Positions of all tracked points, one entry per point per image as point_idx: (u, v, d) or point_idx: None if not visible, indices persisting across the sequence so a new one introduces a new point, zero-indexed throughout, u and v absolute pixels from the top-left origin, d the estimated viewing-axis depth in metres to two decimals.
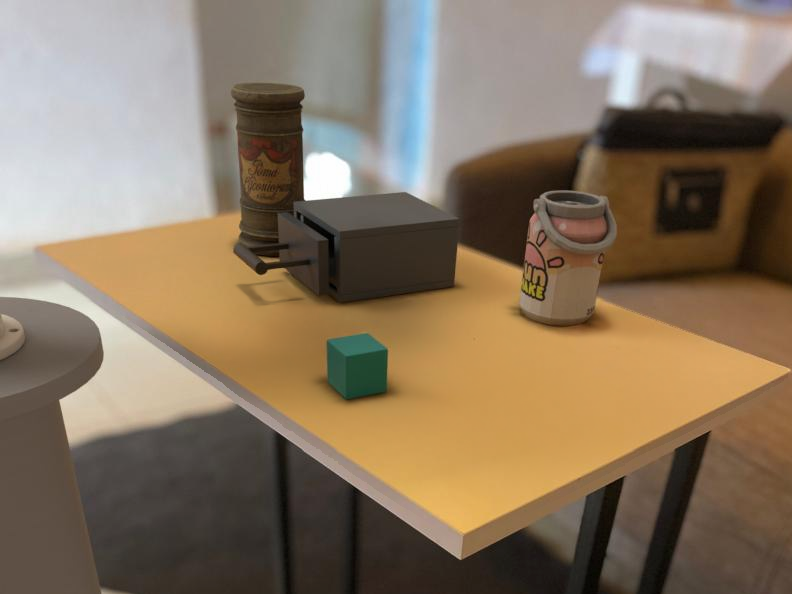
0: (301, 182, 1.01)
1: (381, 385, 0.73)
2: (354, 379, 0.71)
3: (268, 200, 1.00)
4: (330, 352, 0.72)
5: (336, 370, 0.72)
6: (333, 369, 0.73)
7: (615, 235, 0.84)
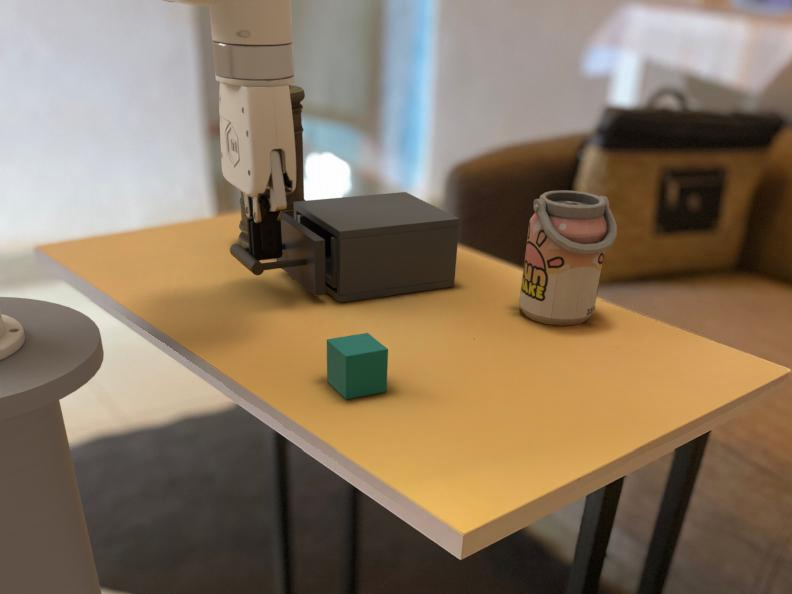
0: (301, 182, 1.01)
1: (381, 385, 0.73)
2: (354, 379, 0.71)
3: None
4: (330, 352, 0.72)
5: (336, 370, 0.72)
6: (333, 369, 0.73)
7: (615, 235, 0.84)
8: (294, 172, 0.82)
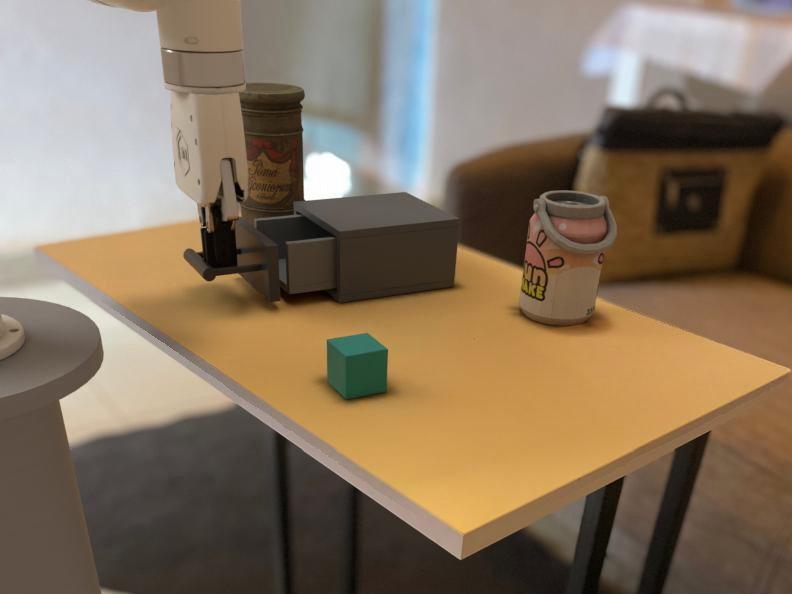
0: (301, 182, 1.01)
1: (381, 385, 0.73)
2: (354, 379, 0.71)
3: (268, 200, 1.00)
4: (330, 352, 0.72)
5: (336, 370, 0.72)
6: (333, 369, 0.73)
7: (615, 235, 0.84)
8: (246, 181, 0.81)
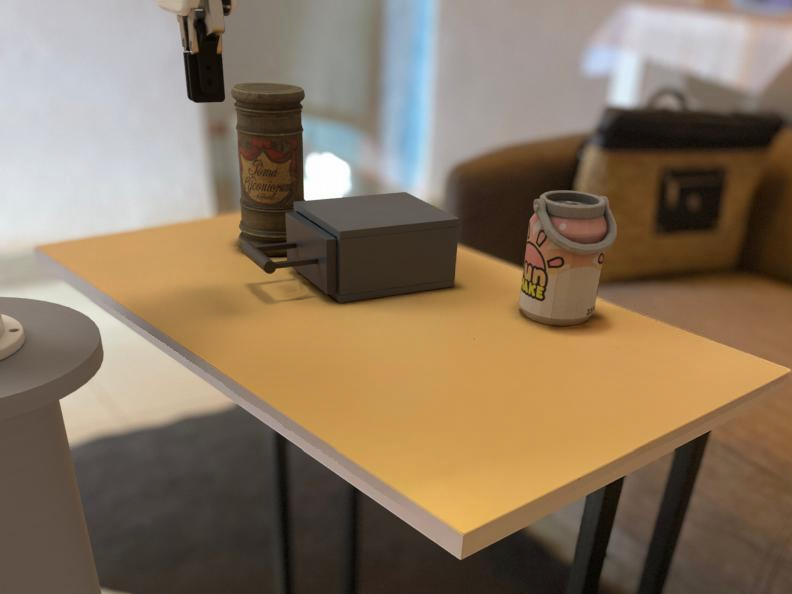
0: (301, 182, 1.01)
1: None
2: None
3: (268, 200, 1.00)
4: None
5: None
6: None
7: (615, 235, 0.84)
8: None
